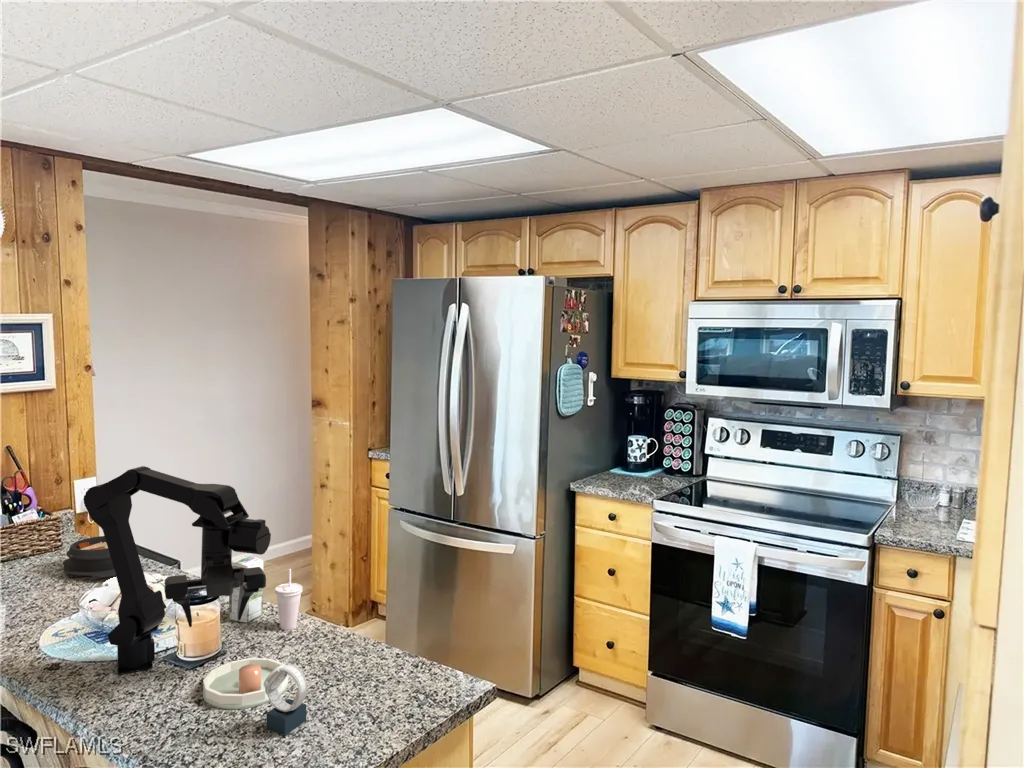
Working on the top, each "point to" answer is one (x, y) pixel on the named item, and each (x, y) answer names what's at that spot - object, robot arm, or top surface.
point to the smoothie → (288, 603)
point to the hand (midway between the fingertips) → (214, 623)
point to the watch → (288, 711)
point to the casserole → (89, 558)
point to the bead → (249, 678)
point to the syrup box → (256, 599)
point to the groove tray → (225, 685)
